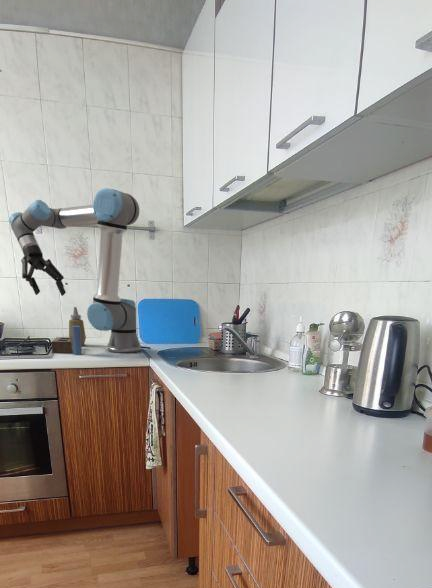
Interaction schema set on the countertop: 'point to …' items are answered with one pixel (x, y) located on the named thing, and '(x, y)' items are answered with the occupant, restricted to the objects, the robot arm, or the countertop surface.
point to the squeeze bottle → (77, 322)
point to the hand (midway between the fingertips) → (51, 293)
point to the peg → (76, 340)
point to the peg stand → (62, 345)
